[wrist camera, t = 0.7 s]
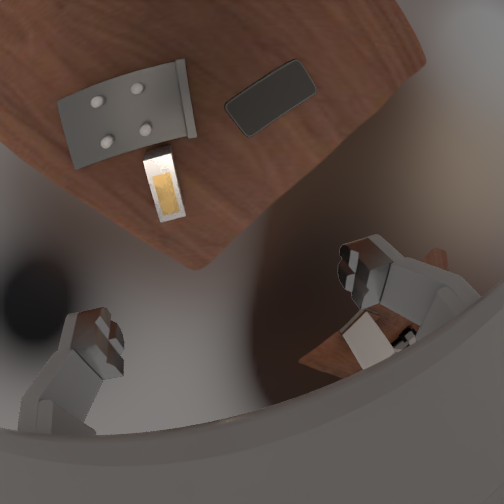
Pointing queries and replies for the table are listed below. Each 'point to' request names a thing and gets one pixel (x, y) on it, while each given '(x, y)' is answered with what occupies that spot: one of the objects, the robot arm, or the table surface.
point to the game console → (406, 339)
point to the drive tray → (127, 113)
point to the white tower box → (367, 339)
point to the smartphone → (271, 97)
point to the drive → (164, 183)
